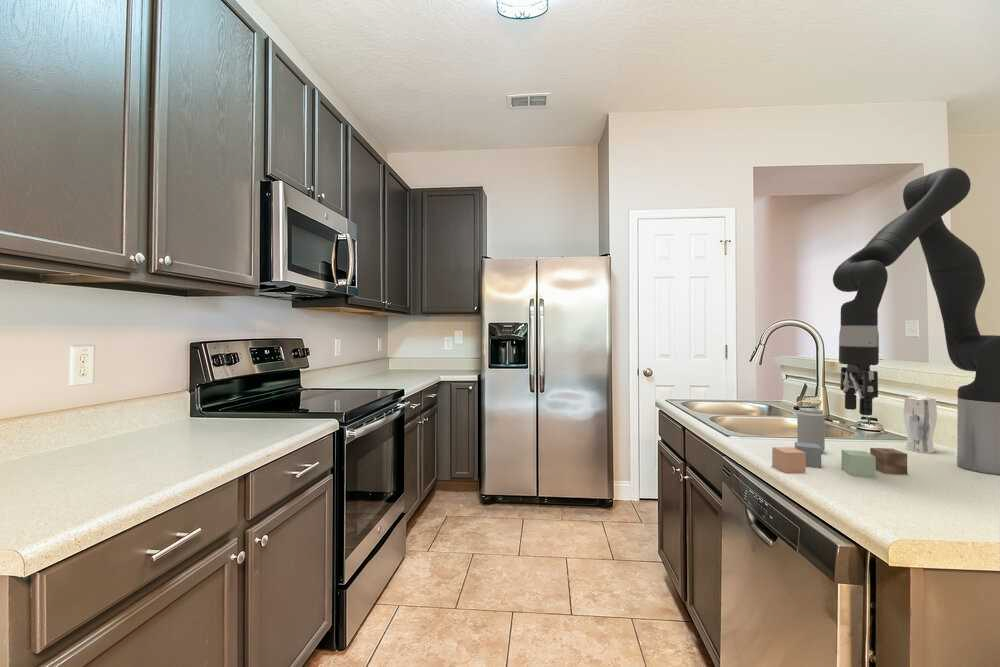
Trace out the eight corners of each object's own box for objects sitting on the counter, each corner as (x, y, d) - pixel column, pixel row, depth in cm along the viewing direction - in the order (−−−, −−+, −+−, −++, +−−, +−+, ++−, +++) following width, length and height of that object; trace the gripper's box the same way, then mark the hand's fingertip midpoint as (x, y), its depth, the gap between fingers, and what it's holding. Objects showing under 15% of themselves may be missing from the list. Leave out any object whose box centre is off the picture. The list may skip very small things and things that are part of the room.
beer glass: (943, 453, 126) (944, 400, 126) (918, 453, 126) (918, 400, 126) (920, 447, 133) (921, 396, 133) (897, 447, 133) (897, 396, 133)
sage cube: (865, 471, 110) (865, 451, 110) (875, 478, 105) (875, 456, 105) (841, 469, 111) (841, 449, 111) (849, 475, 107) (849, 454, 107)
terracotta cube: (791, 466, 114) (791, 447, 114) (805, 473, 109) (805, 452, 109) (772, 467, 114) (772, 447, 113) (785, 473, 109) (785, 452, 108)
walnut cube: (892, 468, 112) (892, 448, 112) (907, 474, 107) (907, 453, 107) (870, 467, 113) (870, 447, 113) (884, 473, 108) (884, 453, 108)
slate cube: (817, 463, 117) (817, 444, 117) (821, 468, 112) (821, 448, 112) (794, 460, 119) (794, 441, 119) (797, 465, 115) (797, 446, 115)
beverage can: (829, 454, 125) (829, 411, 125) (803, 453, 126) (803, 410, 126) (817, 448, 131) (817, 407, 131) (793, 447, 132) (793, 407, 132)
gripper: (892, 345, 100) (891, 418, 100) (864, 344, 114) (863, 408, 114) (852, 345, 103) (851, 416, 103) (829, 343, 116) (828, 406, 116)
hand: (857, 412), depth 108 cm, fingers open, 8 cm apart
